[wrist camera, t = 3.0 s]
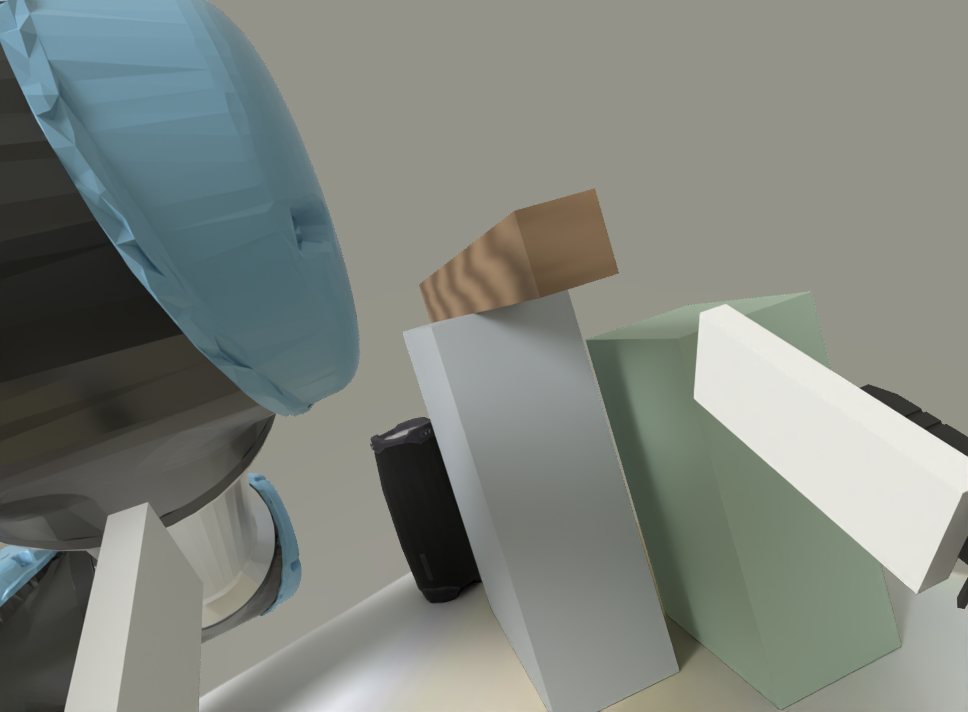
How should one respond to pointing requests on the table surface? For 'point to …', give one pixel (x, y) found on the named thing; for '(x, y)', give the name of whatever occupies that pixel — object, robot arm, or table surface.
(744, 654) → the base block
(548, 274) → the bar
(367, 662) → the table surface
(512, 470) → the stand
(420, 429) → the portable speaker
